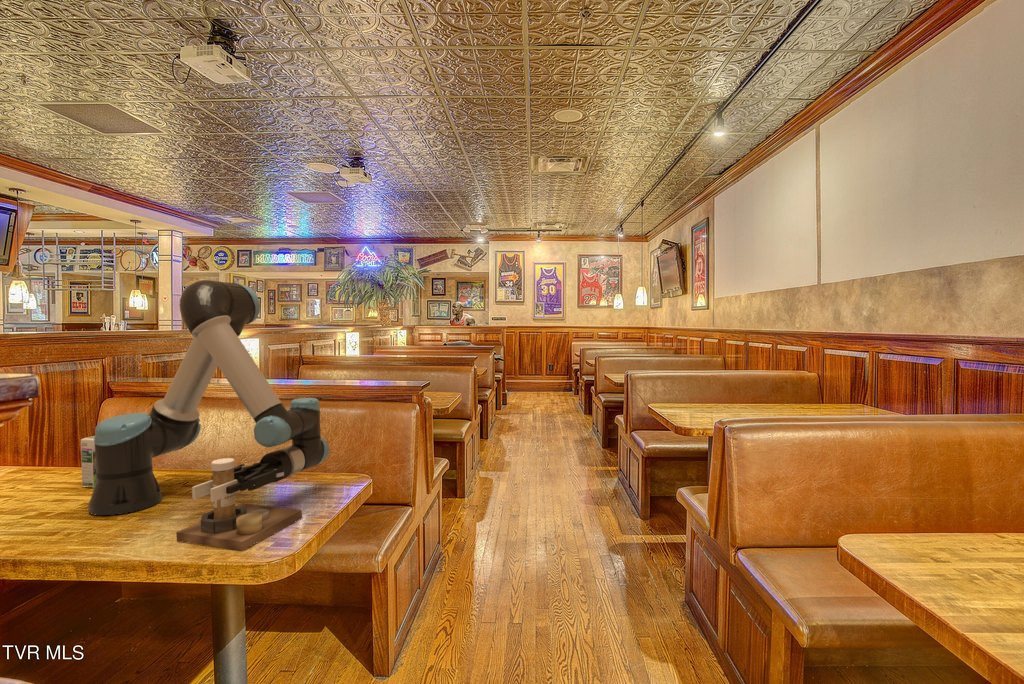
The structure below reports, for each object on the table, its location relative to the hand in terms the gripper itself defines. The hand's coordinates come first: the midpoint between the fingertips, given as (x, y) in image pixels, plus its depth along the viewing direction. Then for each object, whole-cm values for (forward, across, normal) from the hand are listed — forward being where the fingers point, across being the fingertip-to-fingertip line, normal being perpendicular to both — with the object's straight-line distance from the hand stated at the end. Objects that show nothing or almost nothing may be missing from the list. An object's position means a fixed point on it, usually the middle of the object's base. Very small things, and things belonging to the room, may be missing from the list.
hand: (202, 494), depth 106 cm
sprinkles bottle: (-5, 0, -8) cm, 9 cm away
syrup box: (-22, +65, -11) cm, 70 cm away
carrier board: (-8, -2, -11) cm, 14 cm away
